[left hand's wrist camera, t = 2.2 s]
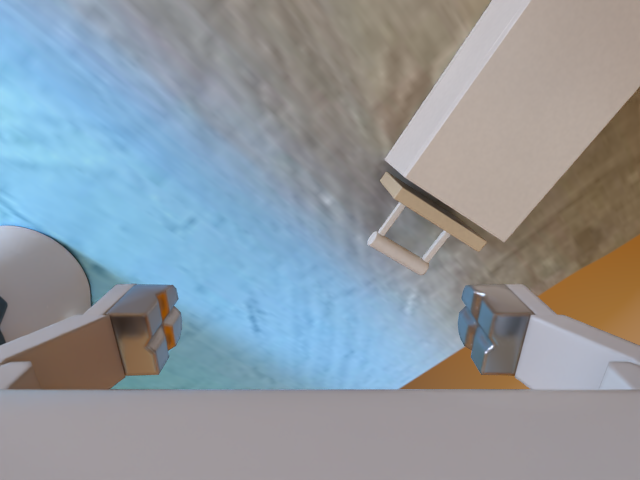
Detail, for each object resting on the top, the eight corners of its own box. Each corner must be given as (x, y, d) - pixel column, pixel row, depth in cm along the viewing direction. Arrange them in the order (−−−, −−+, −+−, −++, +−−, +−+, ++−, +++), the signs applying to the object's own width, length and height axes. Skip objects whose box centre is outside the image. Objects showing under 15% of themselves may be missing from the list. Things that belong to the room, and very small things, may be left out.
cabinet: (463, 211, 39) (504, 242, 31) (384, 159, 37) (404, 177, 29) (613, 22, 33) (718, -5, 24) (528, -54, 31) (611, -114, 22)
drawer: (420, 264, 41) (441, 297, 34) (350, 223, 39) (357, 248, 32) (589, 52, 33) (659, 39, 26) (513, -15, 31) (567, -46, 24)
